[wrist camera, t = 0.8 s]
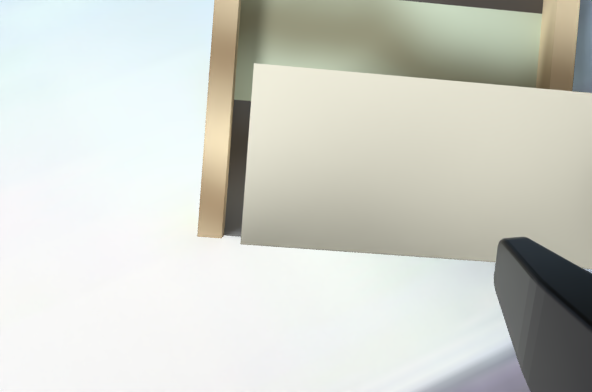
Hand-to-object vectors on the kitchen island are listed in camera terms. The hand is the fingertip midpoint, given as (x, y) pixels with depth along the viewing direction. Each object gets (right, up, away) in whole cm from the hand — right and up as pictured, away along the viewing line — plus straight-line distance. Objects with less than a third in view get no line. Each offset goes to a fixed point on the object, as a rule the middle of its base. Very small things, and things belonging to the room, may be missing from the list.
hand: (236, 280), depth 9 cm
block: (+5, +2, +14) cm, 15 cm away
